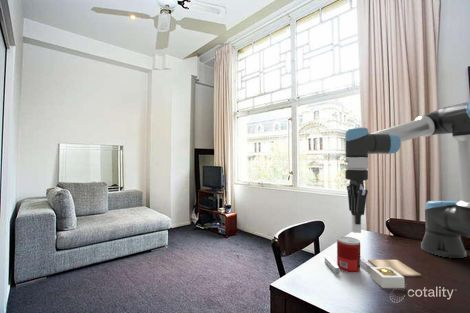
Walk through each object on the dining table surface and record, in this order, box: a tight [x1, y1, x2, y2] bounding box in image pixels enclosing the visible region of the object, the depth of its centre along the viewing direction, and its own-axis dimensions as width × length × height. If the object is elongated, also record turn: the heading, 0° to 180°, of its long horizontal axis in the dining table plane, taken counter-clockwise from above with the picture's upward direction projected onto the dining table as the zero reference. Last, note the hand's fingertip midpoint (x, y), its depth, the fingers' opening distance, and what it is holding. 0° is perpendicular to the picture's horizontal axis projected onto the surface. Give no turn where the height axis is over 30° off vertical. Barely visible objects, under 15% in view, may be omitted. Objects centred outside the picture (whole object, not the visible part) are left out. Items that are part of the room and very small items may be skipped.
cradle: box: [324, 255, 374, 276], centre depth 88 cm, size 14×10×2 cm
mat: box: [367, 259, 422, 277], centre depth 88 cm, size 12×12×1 cm
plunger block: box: [369, 266, 405, 289], centre depth 78 cm, size 7×7×4 cm
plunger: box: [380, 268, 394, 275], centre depth 78 cm, size 4×4×3 cm
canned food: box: [336, 236, 361, 274], centre depth 88 cm, size 8×8×11 cm
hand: (356, 232), depth 85 cm, fingers closed
